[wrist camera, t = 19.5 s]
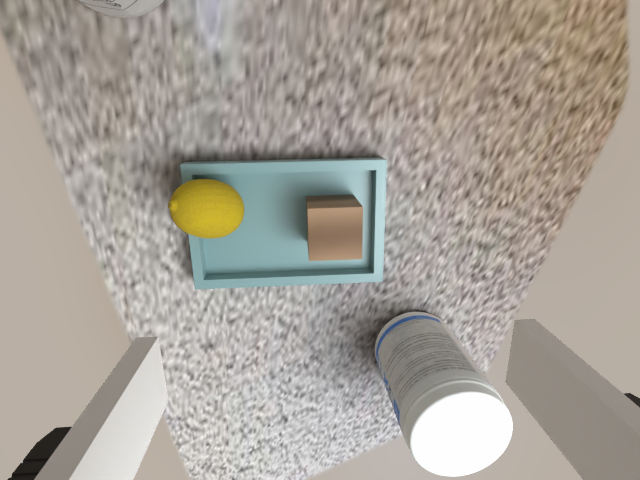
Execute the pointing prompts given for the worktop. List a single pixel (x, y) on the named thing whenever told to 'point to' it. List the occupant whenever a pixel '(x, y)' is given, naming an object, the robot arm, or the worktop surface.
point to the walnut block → (334, 227)
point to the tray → (288, 222)
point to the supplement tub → (441, 396)
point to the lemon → (206, 208)
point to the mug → (122, 7)
